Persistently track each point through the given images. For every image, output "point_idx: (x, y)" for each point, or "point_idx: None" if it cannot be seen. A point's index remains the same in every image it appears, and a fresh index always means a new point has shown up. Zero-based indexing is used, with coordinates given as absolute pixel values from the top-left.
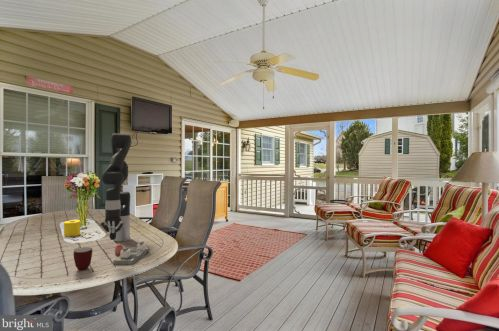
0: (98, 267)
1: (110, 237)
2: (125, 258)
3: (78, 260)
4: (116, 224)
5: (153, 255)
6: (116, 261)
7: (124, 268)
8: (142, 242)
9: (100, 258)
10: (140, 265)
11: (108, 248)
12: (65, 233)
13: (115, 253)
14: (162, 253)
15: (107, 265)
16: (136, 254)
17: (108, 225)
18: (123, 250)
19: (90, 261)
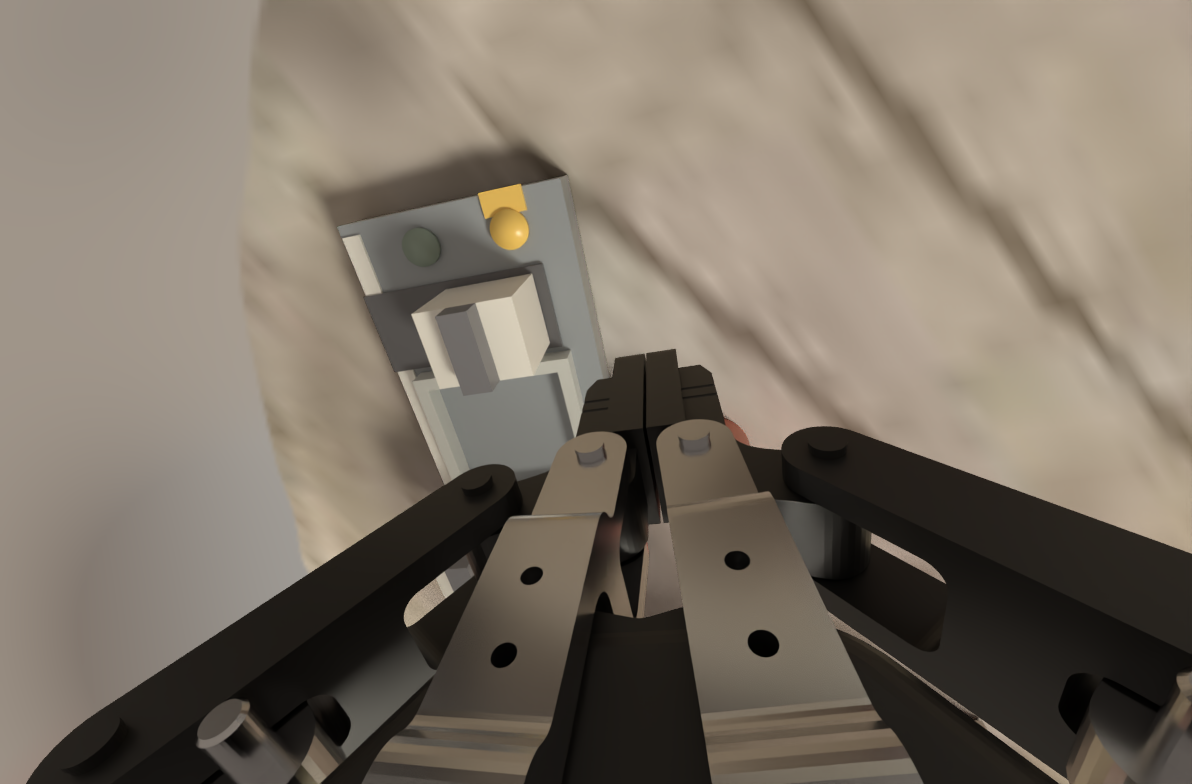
0: (675, 6)
1: (691, 380)
2: (466, 278)
3: None
4: (384, 733)
5: (369, 480)
6: (522, 186)
7: (341, 84)
8: (452, 587)
9: (846, 303)
10: (262, 223)
11: (927, 566)
12: None
13: (732, 431)
14: (337, 531)
15: (607, 114)
16: (424, 396)
17: (810, 620)
18: (461, 308)
19: None
